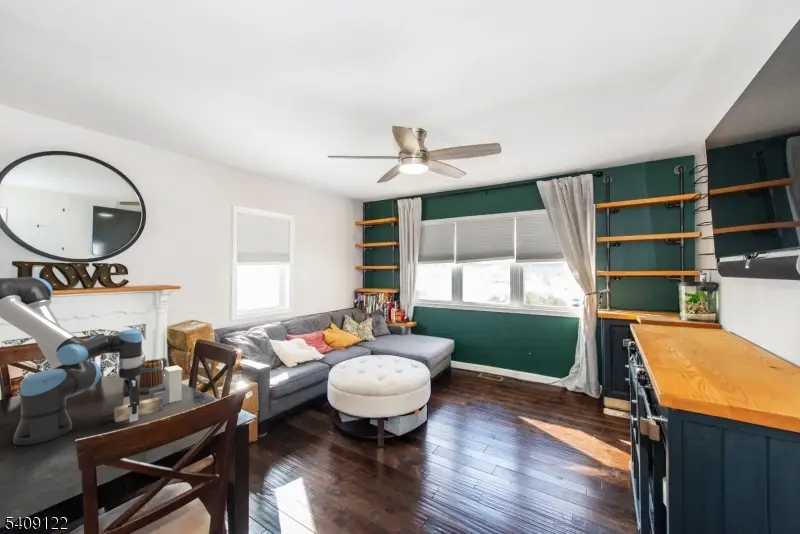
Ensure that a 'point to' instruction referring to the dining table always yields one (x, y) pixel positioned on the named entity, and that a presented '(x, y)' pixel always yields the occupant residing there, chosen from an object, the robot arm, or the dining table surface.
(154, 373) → the mug
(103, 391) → the dining table surface
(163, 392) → the u-notched block
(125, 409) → the rail
